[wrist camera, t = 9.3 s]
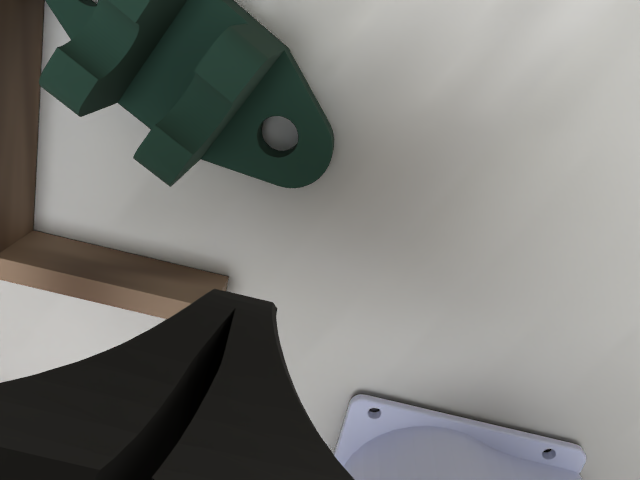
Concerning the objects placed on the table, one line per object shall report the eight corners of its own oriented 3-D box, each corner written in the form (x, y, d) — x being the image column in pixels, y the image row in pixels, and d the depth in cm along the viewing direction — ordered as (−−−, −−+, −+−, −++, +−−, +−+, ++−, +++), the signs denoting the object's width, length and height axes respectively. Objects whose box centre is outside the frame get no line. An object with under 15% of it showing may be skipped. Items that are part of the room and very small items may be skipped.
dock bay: (324, -234, 16) (317, -274, 14) (225, 295, 22) (208, 328, 20) (29, -308, 16) (-28, -361, 14) (11, 244, 22) (-31, 272, 20)
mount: (367, 115, 20) (368, 148, 15) (285, 211, 21) (263, 268, 17) (93, -123, 18) (-3, -168, 13) (22, 1, 19) (-87, -1, 15)
